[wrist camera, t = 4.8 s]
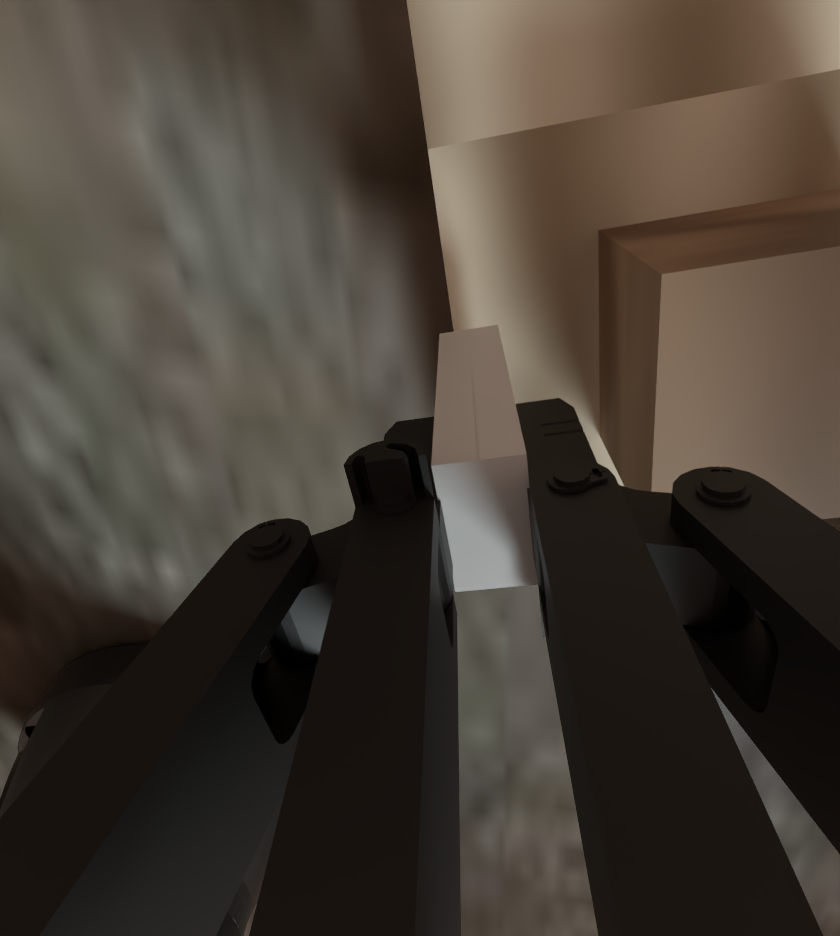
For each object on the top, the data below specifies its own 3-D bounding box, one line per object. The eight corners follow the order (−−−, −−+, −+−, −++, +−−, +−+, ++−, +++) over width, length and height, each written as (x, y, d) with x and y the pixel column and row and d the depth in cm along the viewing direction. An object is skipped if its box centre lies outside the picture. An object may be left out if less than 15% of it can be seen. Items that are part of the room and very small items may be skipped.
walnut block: (599, 435, 17) (649, 536, 13) (598, 230, 14) (661, 274, 10) (807, 410, 17) (931, 508, 12) (852, 187, 14) (1036, 214, 9)
